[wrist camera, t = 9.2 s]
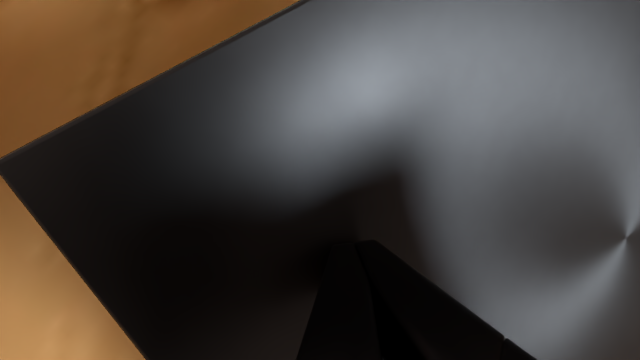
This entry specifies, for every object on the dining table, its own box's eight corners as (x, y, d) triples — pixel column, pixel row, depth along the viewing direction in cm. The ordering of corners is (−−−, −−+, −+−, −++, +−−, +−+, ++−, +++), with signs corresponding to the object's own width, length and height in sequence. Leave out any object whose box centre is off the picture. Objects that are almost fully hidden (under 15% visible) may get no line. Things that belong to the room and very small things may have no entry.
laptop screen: (4, 156, 8) (-12, 163, 7) (816, -271, 12) (861, -295, 11) (403, 672, 13) (418, 707, 13) (861, 261, 17) (893, 269, 17)
